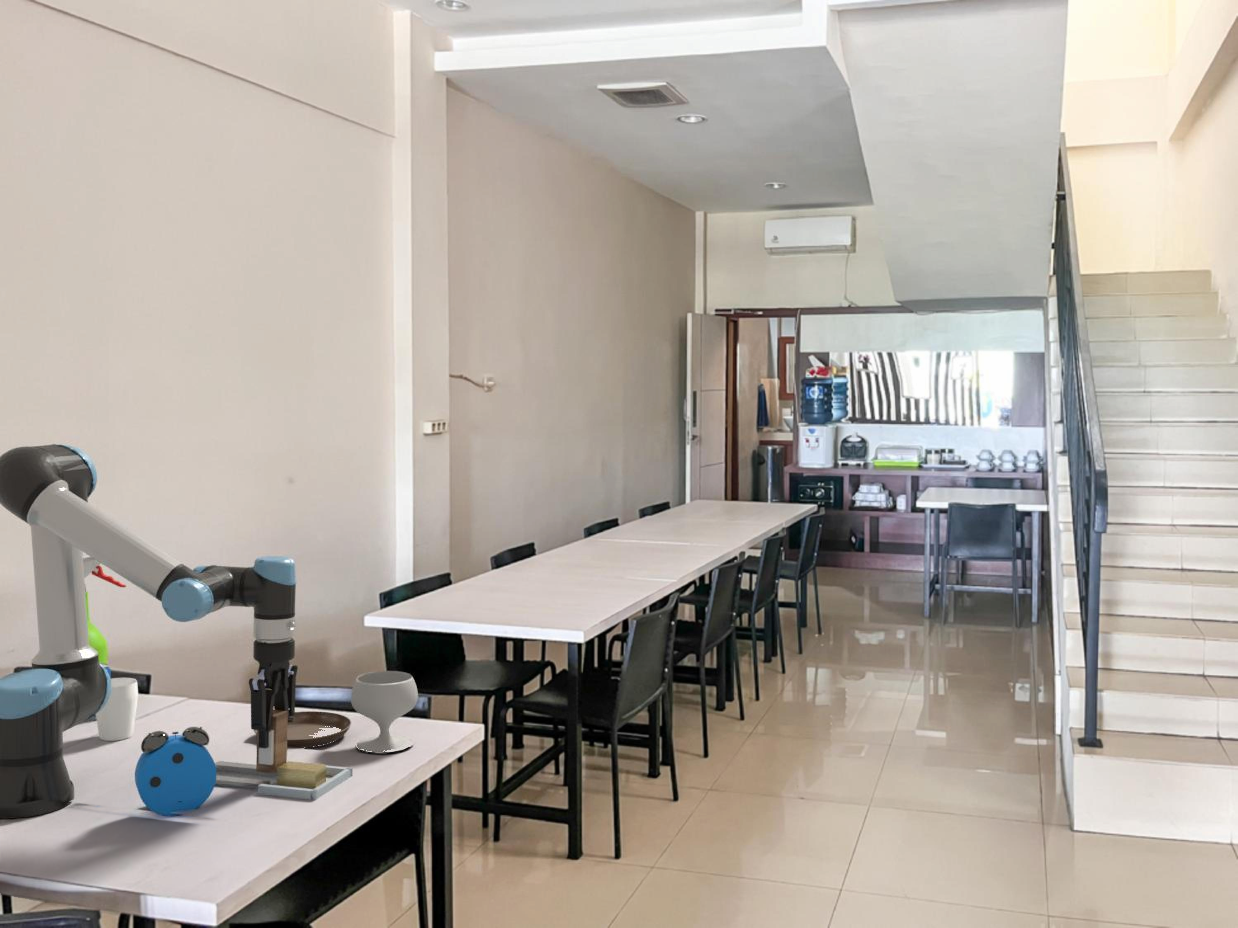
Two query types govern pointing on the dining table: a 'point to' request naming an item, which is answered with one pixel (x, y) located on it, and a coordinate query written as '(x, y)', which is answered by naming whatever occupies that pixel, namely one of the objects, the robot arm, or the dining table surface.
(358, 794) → the dining table surface
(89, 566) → the spray bottle
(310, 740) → the plant saucer
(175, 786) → the alarm clock
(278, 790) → the tray
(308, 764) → the chip
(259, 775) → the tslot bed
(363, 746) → the chalice
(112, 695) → the cup
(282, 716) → the brown wooden block
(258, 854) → the dining table surface
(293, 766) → the chip
